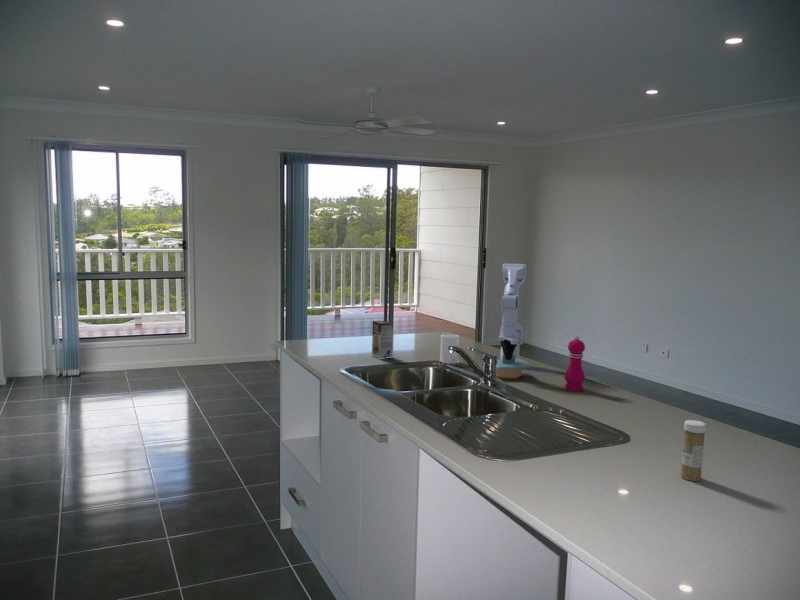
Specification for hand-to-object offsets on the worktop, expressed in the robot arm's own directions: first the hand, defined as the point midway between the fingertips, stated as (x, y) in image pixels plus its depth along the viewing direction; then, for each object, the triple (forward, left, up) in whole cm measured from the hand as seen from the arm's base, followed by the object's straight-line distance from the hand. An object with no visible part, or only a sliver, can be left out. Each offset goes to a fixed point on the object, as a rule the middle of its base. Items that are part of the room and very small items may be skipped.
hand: (507, 359), depth 245 cm
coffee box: (-39, -46, -7) cm, 61 cm away
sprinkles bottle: (+104, +12, -7) cm, 105 cm away
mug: (-26, -17, -7) cm, 32 cm away
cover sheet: (0, 0, -2) cm, 2 cm away
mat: (-7, +14, -7) cm, 17 cm away
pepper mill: (+21, +19, -7) cm, 29 cm away
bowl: (0, 0, -7) cm, 7 cm away
